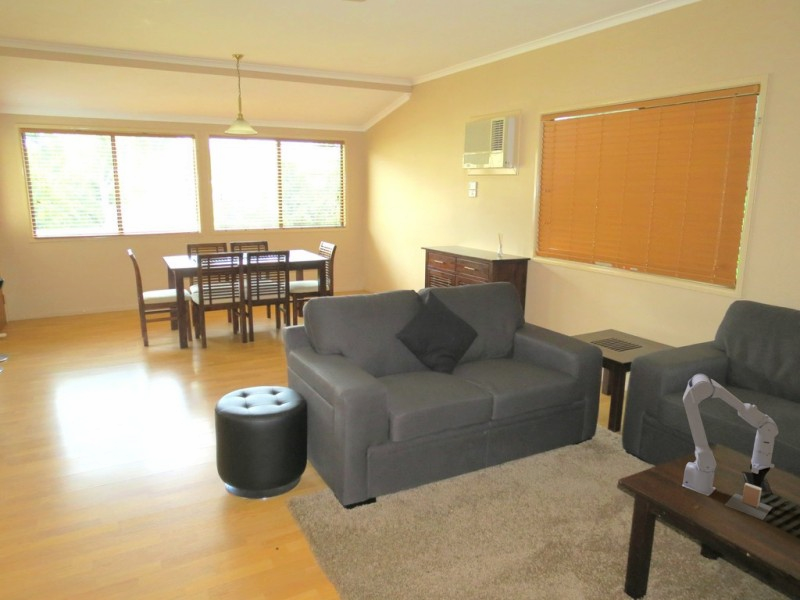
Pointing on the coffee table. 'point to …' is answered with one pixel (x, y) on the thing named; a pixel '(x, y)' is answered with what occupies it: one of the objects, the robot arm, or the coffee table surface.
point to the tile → (751, 495)
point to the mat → (748, 507)
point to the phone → (749, 479)
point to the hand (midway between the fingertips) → (757, 484)
